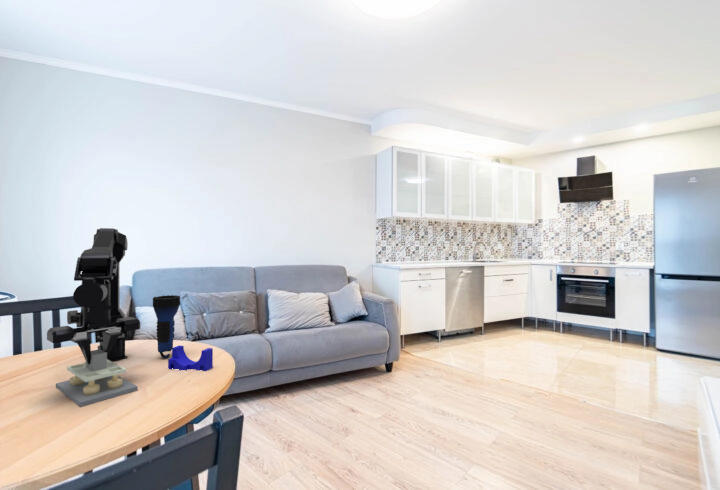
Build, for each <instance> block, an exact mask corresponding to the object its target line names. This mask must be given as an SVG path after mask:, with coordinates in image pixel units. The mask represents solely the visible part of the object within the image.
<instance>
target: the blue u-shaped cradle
mask: <svg viewBox="0 0 720 490" xmlns="http://www.w3.org/2000/svg"><path fill="white" fill-rule="evenodd" d="M213 353H214V351H213V348H212V347H207V348H205V349H203V350H201V355H200V358H199V359H198V360H197V361H195V360H194V361H193V360H192V359H190V358H189V357H188V356H187V354H186V352H185V348H184V345H177V346H173V348H172V350H171V357H170V358H168V360H167V363H168V364H167V367H168V368H169V369H168V368H167V369H168V370H172V368H173V369H179V370H178V371H181V370H186V371H188V370H191V369H196V370H195V371H200V370H202V371H201V372H207V371H209V370H211V369H213V363H214V362H213V361H214V359H213V355H214V354H213ZM187 369H188V370H187Z"/></svg>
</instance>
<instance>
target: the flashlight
mask: <svg viewBox="0 0 720 490" xmlns="http://www.w3.org/2000/svg"><path fill="white" fill-rule="evenodd" d="M180 305H181V296H180V295H174V294H172V295H170V294H169V295H159V296H154V297H152V307H153V311H154V314H155V316H156V320H157V321H156V342H157V352H158V353H159V355H160V356H161V357H162V358H163V359H167V358H168V359H169V357H170V356H171V354H170V353H167V352H172V348H174V339H175V325H176V324H175V316H176V314H177V313H178V311H179V308H180ZM164 353H167V354H166V355H165V354H164Z"/></svg>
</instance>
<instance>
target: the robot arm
mask: <svg viewBox="0 0 720 490" xmlns="http://www.w3.org/2000/svg"><path fill="white" fill-rule="evenodd" d="M128 246H129V245H128V237H127V235H126V234H124V233H121V232H119V230H118V229H115V228H113V227H111V228H107V227H106V228H103V227H100V228H97V229H96V233H95V234H93V243H92V246H91V247H90V248H88V249H85V250H83V251H82V253H81V254H80V256H78V258H77V260H76V266H75V271H74V276H73V281H75V282H76V281H77V282H79V281H80V282H81V284H80V285H78V286H77V287H76V288H75V290H74V292H73V294H72V298H73V301H74V302H75V304H77V306H79V307H80V312H78V311H79V310H78V309H76V310H68V311H67V313H66V321H67V324H68V325H63V326H57V327H56V326H55V327H50V328H49V329H47V332H46V340H47V341H48V342H49V343H52V344H59V343H64V342H65V343H66V342H72V343H75V344H77V345H78V347H79V348H80V351H81V353H82V355H83V358H84V360H85V363H86V362H87V364H88V365H89V364H90V362H91V351H92V349H91V338H90V337H88V335H89V334H94V338H95V339H94V340H95V343H99V345H97V350H98V349H100V350H102V351H105V352H107V359H108V360H110V361H112V362H114V361H119V360H123V359H127V358H128V356H127V355H126V340H129V339H131V331H136V330H141V320H139V318H136V317H133V316H127V317H126V314H125V312H123V310H122V309H121V307H120V298H121V297H120V293H121V292H120V290H121V289H120V262H121V261H122V260H123V259H124V257H125V256H126V251H128ZM72 324H73V325H74V324H76V325H75V326H76V327H75V328H74V327H71V326H69V325H72Z"/></svg>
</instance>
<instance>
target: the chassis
mask: <svg viewBox="0 0 720 490" xmlns="http://www.w3.org/2000/svg"><path fill="white" fill-rule="evenodd" d="M55 388H56V389H58V390H59V391H60V392H61V393H63V395H64V396H66V397H67V398H69V399H70V400H71V401H72V402H74V404H76V405H77V406H79V408H82V407H84V406H89V405H92V404H94V403H95V404H96V403H99V402H102V401H105V400H108V399H113V398H115V397H116V398H117V397H120V396H124V395H125V394H126V395H127V394H130V393H134V392H137V391H138V390H139V389H138V388H139V386H138V385H136V384H135V383H132V382H130V381H128V379H125V378H123V377H121V376H119V374H117V375H113V376H108V377H104V378H100V379H96V380H92V381H88V382H84V381H83V380H81V379H80V378H78V377H77V376H76V375H74V376H72V377H70V378H69V380H65V381H60V382H56V383H55Z"/></svg>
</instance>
